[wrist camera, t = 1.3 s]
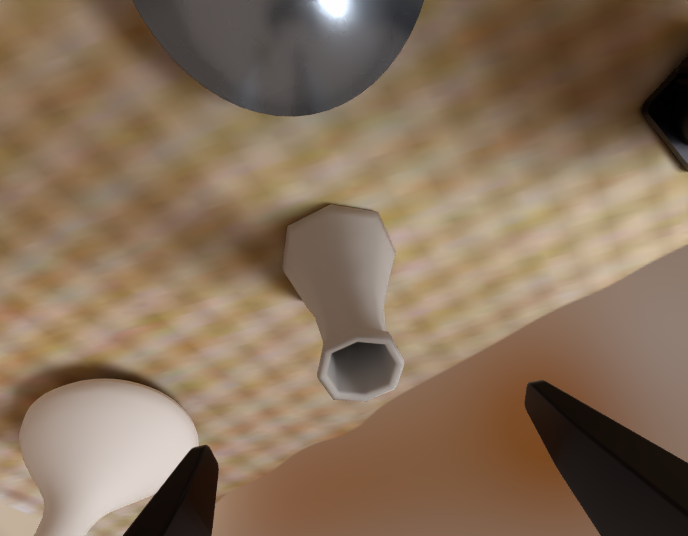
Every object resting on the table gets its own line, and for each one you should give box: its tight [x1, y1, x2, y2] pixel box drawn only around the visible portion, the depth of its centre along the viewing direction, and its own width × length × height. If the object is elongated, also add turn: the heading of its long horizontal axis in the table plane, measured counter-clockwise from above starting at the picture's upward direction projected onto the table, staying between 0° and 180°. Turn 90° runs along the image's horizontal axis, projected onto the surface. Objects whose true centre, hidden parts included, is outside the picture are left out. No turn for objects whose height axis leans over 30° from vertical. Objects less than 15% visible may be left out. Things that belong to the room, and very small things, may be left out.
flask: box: [282, 204, 404, 402], centre depth 16 cm, size 7×7×10 cm
